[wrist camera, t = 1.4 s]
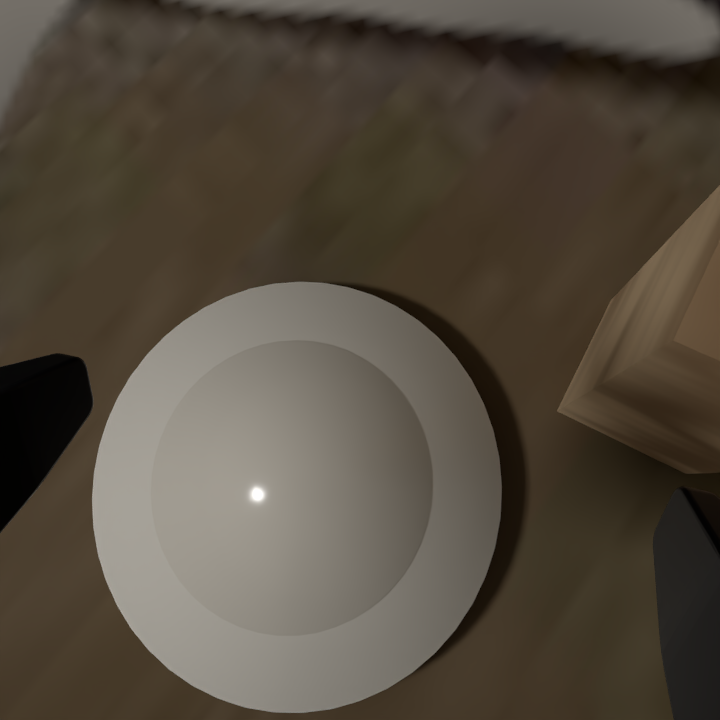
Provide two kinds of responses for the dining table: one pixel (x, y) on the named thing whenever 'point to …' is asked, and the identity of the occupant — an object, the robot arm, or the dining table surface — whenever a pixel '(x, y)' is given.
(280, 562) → the cream plate
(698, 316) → the pepper mill
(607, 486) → the dining table surface
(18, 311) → the dining table surface
